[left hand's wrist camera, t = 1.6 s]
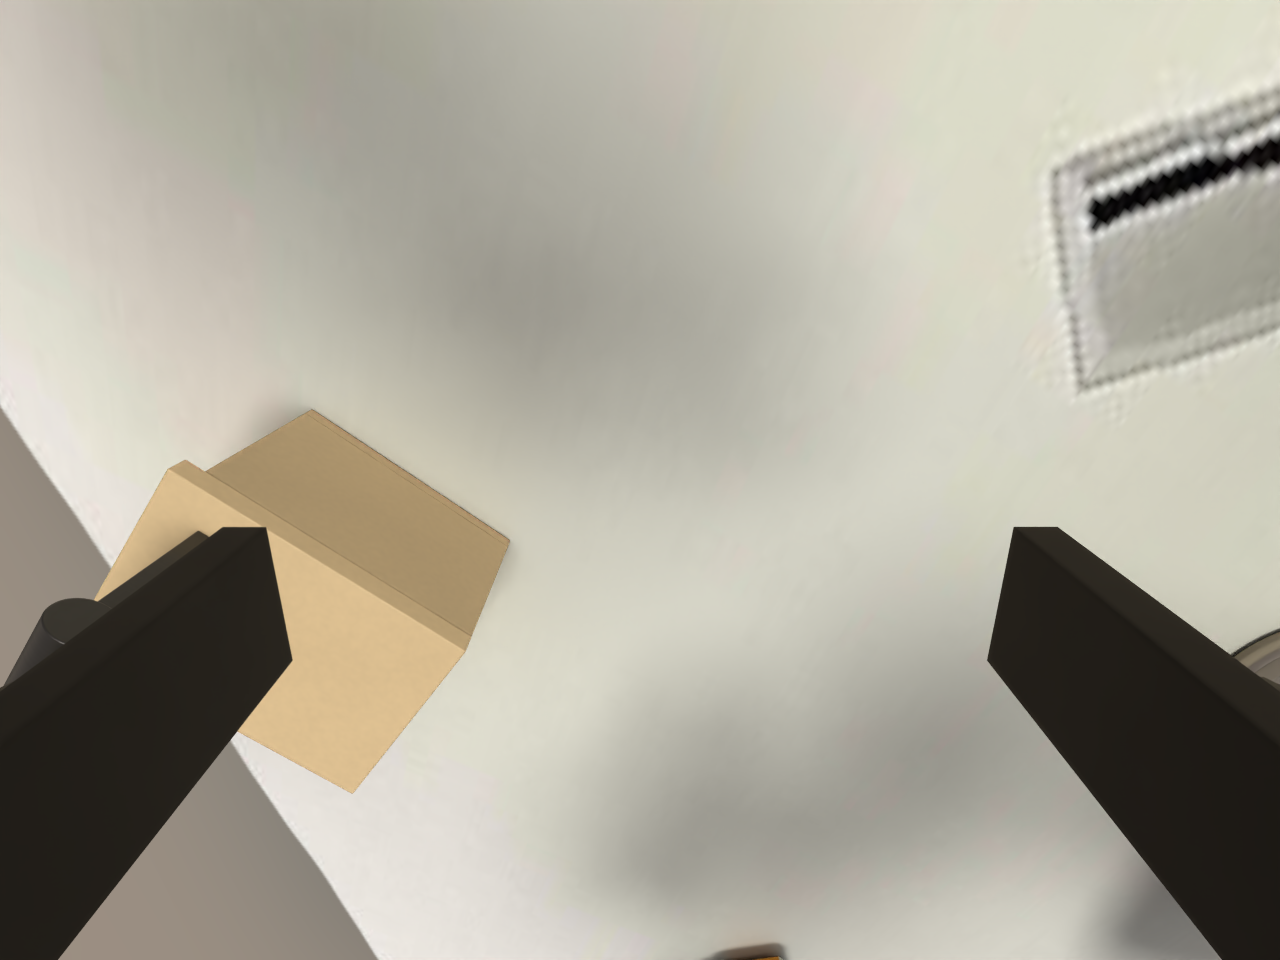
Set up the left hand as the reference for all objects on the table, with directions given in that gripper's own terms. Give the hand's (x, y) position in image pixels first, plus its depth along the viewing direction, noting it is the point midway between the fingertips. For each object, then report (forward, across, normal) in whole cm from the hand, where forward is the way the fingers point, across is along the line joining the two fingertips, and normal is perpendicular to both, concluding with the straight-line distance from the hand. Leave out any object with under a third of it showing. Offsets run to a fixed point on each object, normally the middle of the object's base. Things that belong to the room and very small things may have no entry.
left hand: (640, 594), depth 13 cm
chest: (+27, -16, -11) cm, 33 cm away
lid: (+16, -16, -11) cm, 26 cm away
